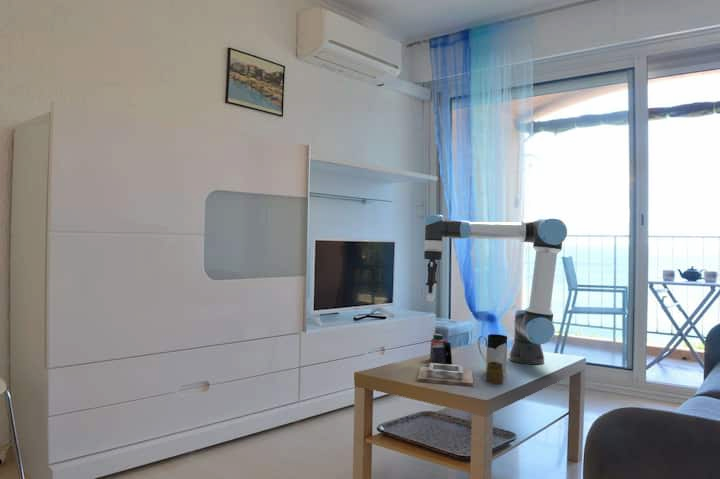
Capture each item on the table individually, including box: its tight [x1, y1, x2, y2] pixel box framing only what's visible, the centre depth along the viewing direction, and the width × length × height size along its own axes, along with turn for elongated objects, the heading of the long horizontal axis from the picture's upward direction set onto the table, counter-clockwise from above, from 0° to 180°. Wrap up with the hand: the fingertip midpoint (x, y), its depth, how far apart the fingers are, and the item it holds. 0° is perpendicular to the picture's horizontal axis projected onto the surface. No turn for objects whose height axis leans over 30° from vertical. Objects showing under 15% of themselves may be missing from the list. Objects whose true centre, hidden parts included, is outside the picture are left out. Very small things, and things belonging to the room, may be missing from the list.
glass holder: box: [477, 333, 508, 377], centre depth 218 cm, size 9×14×15 cm, turn 36°
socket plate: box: [417, 362, 474, 387], centre depth 204 cm, size 20×20×4 cm
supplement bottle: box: [429, 333, 444, 361], centre depth 236 cm, size 6×6×11 cm
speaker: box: [432, 339, 453, 365], centre depth 225 cm, size 8×6×10 cm
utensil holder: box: [486, 349, 504, 385], centre depth 201 cm, size 6×6×12 cm
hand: (431, 299), depth 233 cm, fingers open, 13 cm apart
